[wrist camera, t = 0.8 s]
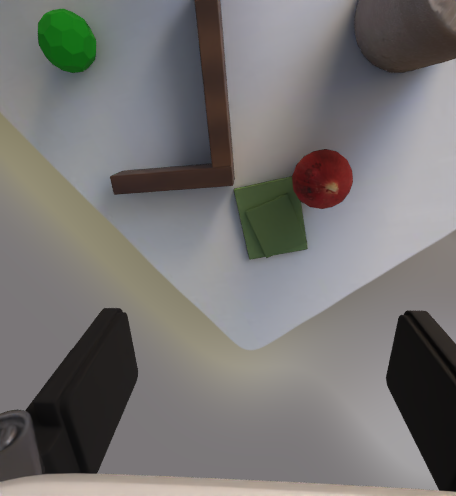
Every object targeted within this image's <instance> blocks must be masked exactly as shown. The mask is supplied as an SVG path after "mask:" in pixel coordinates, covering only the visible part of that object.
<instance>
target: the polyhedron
mask: <svg viewBox="0 0 456 496" xmlns="http://www.w3.org/2000/svg"><path fill="white" fill-rule="evenodd" d="M38 42H39V46H40V48H41V50H42V51H43V53H44V55H45V56H46V58H47V59H48V60H49V61H50V62H51V63H52V64H53V65H55V66H56V67H58V68H60V69H61V70H63V71H67V72H71V73H76V72H83V71H84V70H86V69H87V68H89V67H90V65H91V64H92V63H93V62H94V60H95V56H96V39H95V37H94V35H93V33H92V31H91V29H90V27H89V26H88V24H87V23H86V21H85V20H84V19H83V18H81V17H80V16H78V15H77V14H75V13H73V12H71V11H68V10H66V9H57V10H52V11H50V12H47V13H45V14H44V15H43V17H42V18H41V20H40V21H39V23H38Z"/></svg>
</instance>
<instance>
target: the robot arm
mask: <svg viewBox="0 0 456 496" xmlns="http://www.w3.org/2000/svg"><path fill="white" fill-rule="evenodd" d="M137 377H138V368H137V363H136V358H135V352H134V347H133V342H132V337H131V332H130V327H129V321H128V317H127V314H126V313H123V312H122V310H121V309H120V308H104V309H103V310H102V311H101V312H100V313H99V315H98V316H97V317H96V319H95V320H94V321H93V323H92V324H91V326H90V327H89V328H88V329H87V331H86V332H85V333H84V335H83V336H82V337H81V339H80V340H79V341H78V343H77V344H76V345H75V346H74V348H73V349H72V350H71V351H70V352H69V354H68V355H67V356H66V358H65V359H64V360H63V362H62V363H61V364H60V366H59V367H58V368H57V370H56V371H55V372H54V374H53V375H52V376H51V377H50V379H49V380H48V381H47V383H46V384H45V385H44V387H43V388H42V389H41V391H40V392H39V393H38V394H37V396H36V397H35V398H34V400H33V401H32V403H31V404H30V405H29V407H28V408H27V409H26V410H25V411H24V410H11V411H7V412H4V413H1V414H0V496H456V344H455V343H454V342H453V341H452V339H451V338H450V337H449V336H448V335H447V334H446V332H445V331H444V330H443V329H442V328H441V327H440V326H439V325H438V323H437V322H436V321H435V320H434V319H433V318H432V317H431V316H430V315H429V313H428V312H426V311H406V312H405V313H404V315H400V316H399V318H398V323H397V328H396V332H395V337H394V342H393V347H392V352H391V356H390V361H389V366H388V371H387V375H386V381H387V386H388V388H389V390H390V392H391V394H392V396H393V398H394V400H395V402H396V404H397V406H398V408H399V410H400V412H401V414H402V416H403V419H404V421H405V423H406V424H407V426H408V429H409V431H410V432H411V434H412V437H413V439H414V441H415V443H416V445H417V447H418V448H419V451H420V453H421V455H422V457H423V459H424V461H425V463H426V465H427V467H428V469H429V471H430V473H431V475H432V477H433V479H434V481H435V483H436V485H437V487H438V489H439V491H437V490H424V489H408V488H390V487H372V486H354V485H336V484H316V483H298V482H278V481H257V480H237V479H216V478H194V477H171V476H148V475H147V476H146V475H119V474H97V472H98V470H99V468H100V465H101V463H102V461H103V458H104V456H105V454H106V451H107V449H108V447H109V444H110V442H111V440H112V437H113V435H114V432H115V430H116V428H117V426H118V423H119V421H120V419H121V416H122V414H123V412H124V409H125V407H126V405H127V402H128V400H129V398H130V395H131V393H132V391H133V388H134V386H135V384H136V381H137Z"/></svg>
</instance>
